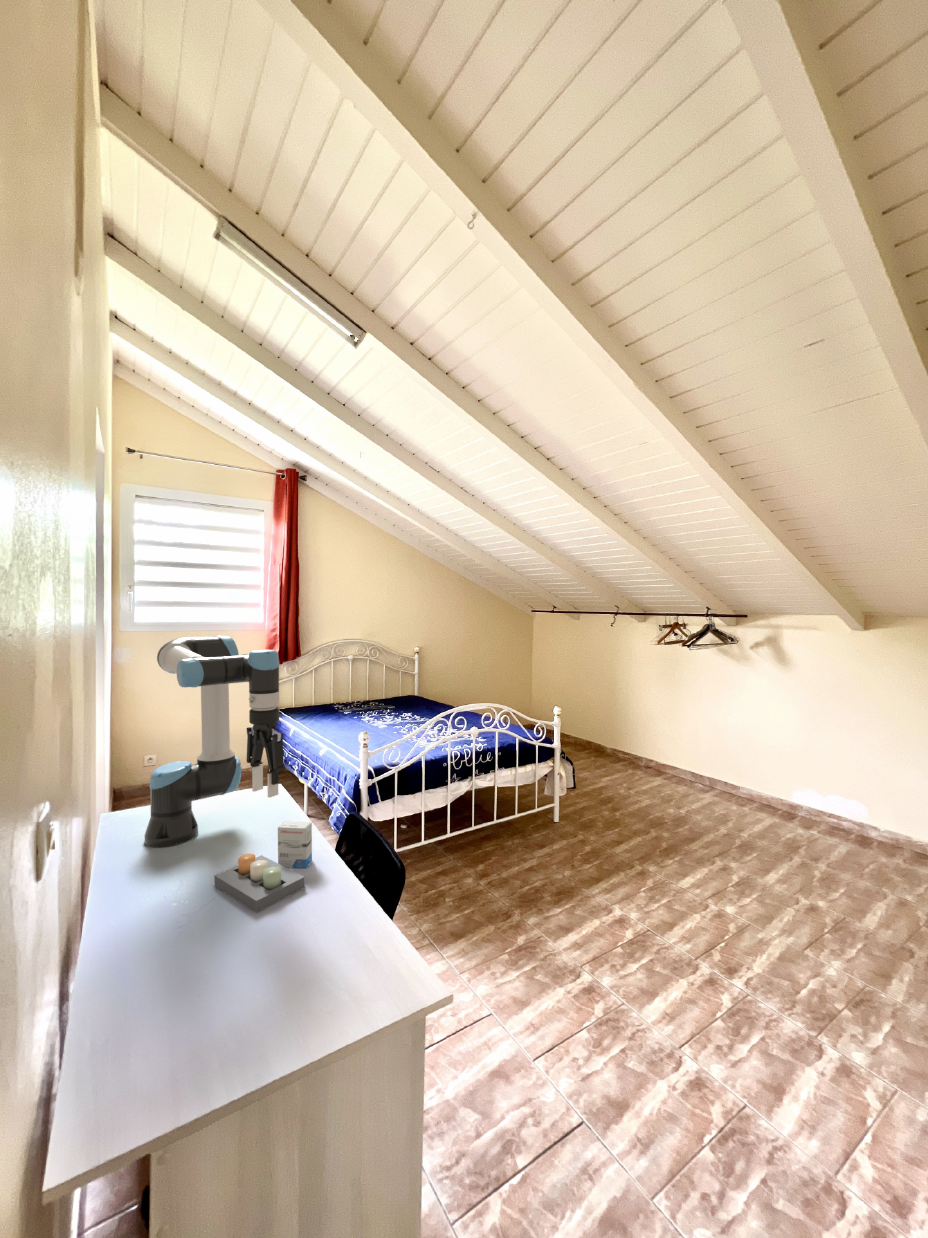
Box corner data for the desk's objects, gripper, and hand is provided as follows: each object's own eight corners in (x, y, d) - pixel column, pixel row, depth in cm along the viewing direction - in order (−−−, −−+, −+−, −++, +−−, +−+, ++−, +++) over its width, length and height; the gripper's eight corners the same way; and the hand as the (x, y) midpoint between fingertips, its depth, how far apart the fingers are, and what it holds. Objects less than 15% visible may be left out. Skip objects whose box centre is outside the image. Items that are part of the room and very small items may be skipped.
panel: (214, 886, 140) (214, 875, 140) (261, 865, 151) (261, 855, 151) (256, 913, 128) (256, 901, 128) (304, 888, 139) (304, 877, 139)
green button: (259, 887, 136) (259, 871, 136) (274, 879, 139) (274, 865, 139) (269, 892, 133) (269, 877, 133) (284, 885, 137) (284, 870, 136)
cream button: (247, 879, 139) (246, 865, 139) (262, 872, 143) (261, 858, 143) (256, 885, 137) (256, 870, 137) (271, 878, 140) (271, 863, 140)
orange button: (234, 872, 143) (234, 858, 143) (249, 866, 146) (249, 852, 146) (243, 877, 140) (243, 863, 140) (258, 871, 144) (258, 856, 144)
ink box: (312, 860, 154) (312, 821, 154) (306, 869, 149) (305, 828, 149) (285, 859, 155) (284, 820, 155) (277, 867, 150) (277, 827, 150)
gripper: (231, 705, 143) (232, 789, 143) (273, 714, 131) (273, 805, 132) (256, 701, 149) (257, 781, 149) (298, 710, 137) (299, 796, 138)
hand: (265, 792), depth 141 cm, fingers open, 6 cm apart
